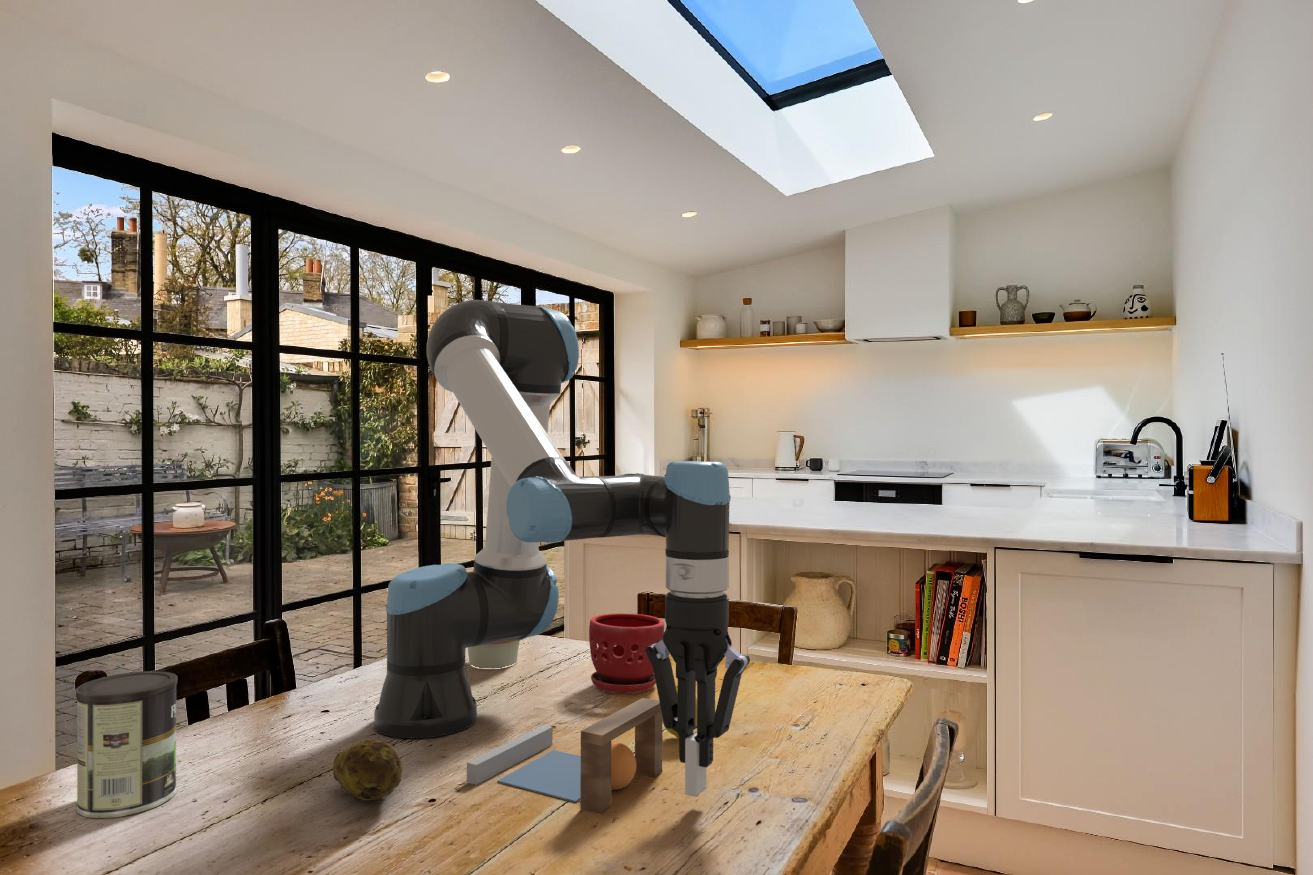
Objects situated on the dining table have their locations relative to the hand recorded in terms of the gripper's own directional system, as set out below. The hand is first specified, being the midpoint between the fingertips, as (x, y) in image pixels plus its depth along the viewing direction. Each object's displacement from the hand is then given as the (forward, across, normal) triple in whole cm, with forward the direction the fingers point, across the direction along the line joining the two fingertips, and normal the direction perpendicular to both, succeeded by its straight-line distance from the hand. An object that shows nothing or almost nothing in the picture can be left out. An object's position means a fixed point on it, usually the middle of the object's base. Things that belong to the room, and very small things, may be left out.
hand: (695, 791), depth 99 cm
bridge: (+2, -10, 0) cm, 10 cm away
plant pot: (+2, -32, +37) cm, 49 cm away
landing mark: (+2, -19, 0) cm, 19 cm away
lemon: (+2, -12, +19) cm, 23 cm away
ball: (-1, -11, 0) cm, 11 cm away
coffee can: (+2, -60, -32) cm, 68 cm away
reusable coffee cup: (+2, -62, +37) cm, 72 cm away
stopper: (+2, -28, 0) cm, 28 cm away
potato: (+2, -35, -18) cm, 40 cm away
